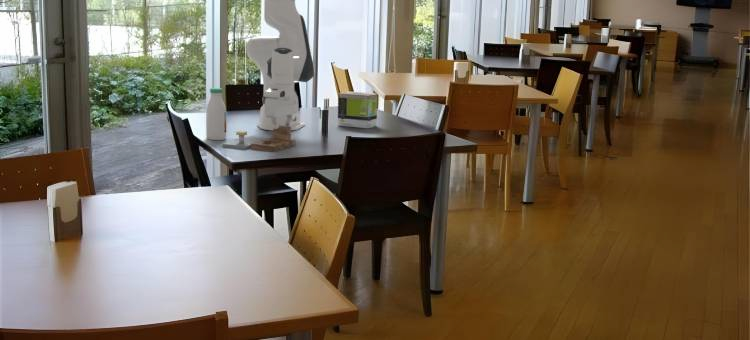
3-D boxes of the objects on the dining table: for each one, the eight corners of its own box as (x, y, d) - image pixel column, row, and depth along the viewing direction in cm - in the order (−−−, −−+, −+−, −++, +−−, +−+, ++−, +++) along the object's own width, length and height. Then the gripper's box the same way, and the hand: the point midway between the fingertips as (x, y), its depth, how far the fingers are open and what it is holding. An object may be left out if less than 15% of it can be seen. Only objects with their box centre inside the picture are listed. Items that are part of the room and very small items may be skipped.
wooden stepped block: (272, 142, 334) (272, 124, 333) (295, 145, 330) (295, 127, 329) (251, 148, 320) (251, 130, 318) (274, 151, 316) (274, 133, 315)
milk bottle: (222, 141, 333) (221, 90, 329) (203, 139, 334) (202, 88, 330) (229, 138, 340) (229, 87, 336) (210, 136, 342) (210, 86, 337)
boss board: (250, 138, 340) (250, 125, 339) (272, 141, 336) (272, 127, 335) (222, 146, 322) (222, 132, 321) (245, 149, 318) (245, 135, 317)
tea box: (377, 126, 381) (378, 93, 378) (367, 129, 372) (368, 95, 369) (347, 122, 387) (347, 90, 384) (336, 125, 378) (337, 92, 375)
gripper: (288, 88, 337) (288, 123, 339) (261, 92, 318) (261, 129, 321) (302, 89, 334) (302, 124, 337) (276, 93, 316) (276, 131, 319)
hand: (282, 127), depth 329 cm, fingers open, 8 cm apart
